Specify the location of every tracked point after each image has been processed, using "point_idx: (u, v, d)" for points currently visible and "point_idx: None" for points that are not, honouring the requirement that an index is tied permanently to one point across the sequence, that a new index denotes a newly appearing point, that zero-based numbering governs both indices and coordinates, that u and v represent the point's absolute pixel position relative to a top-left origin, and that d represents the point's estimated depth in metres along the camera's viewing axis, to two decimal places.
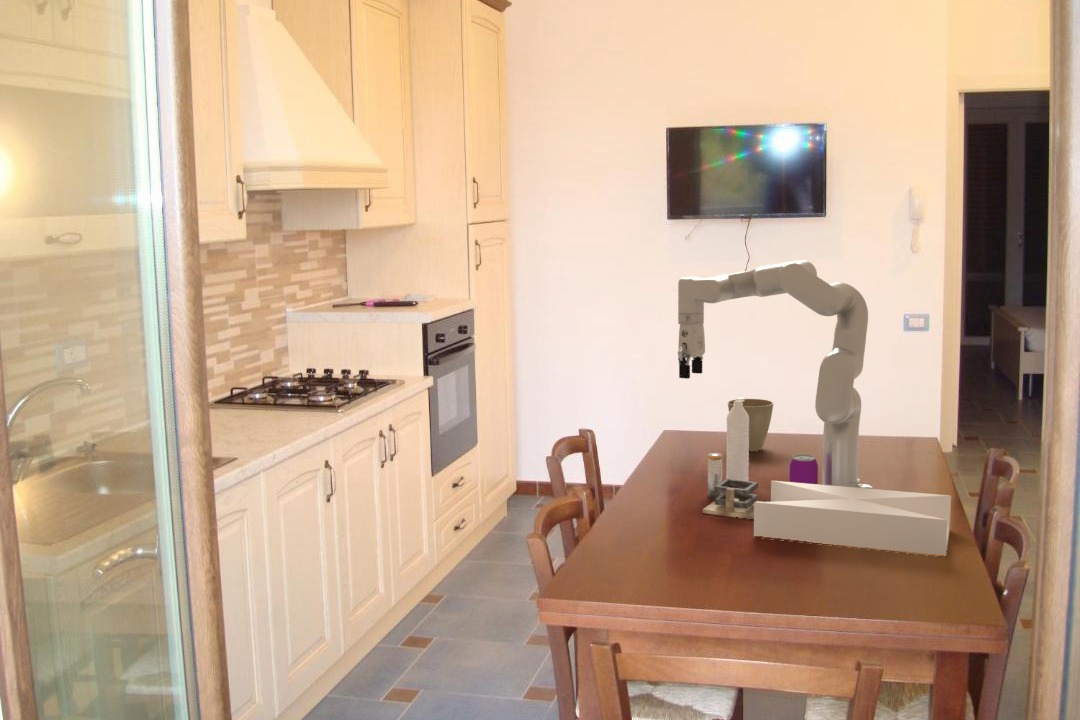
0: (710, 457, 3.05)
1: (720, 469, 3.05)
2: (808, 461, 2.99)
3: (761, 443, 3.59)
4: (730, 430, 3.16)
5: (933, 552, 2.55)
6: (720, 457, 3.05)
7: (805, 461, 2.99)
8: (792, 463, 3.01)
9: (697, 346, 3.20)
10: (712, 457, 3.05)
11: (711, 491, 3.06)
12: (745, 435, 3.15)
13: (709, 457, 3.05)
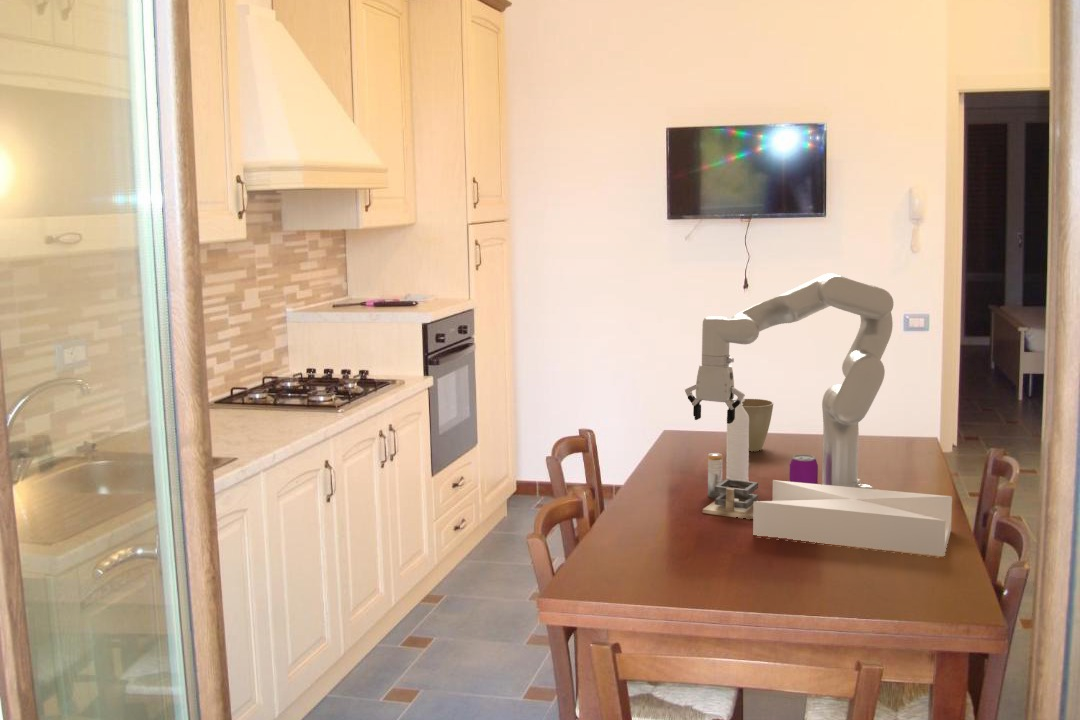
0: (710, 457, 3.05)
1: (720, 469, 3.05)
2: (808, 461, 2.99)
3: (761, 443, 3.59)
4: (730, 430, 3.16)
5: (931, 553, 2.54)
6: (720, 457, 3.05)
7: (805, 461, 2.99)
8: (792, 463, 3.01)
9: None
10: (712, 457, 3.05)
11: (711, 491, 3.06)
12: (745, 435, 3.15)
13: (709, 457, 3.05)
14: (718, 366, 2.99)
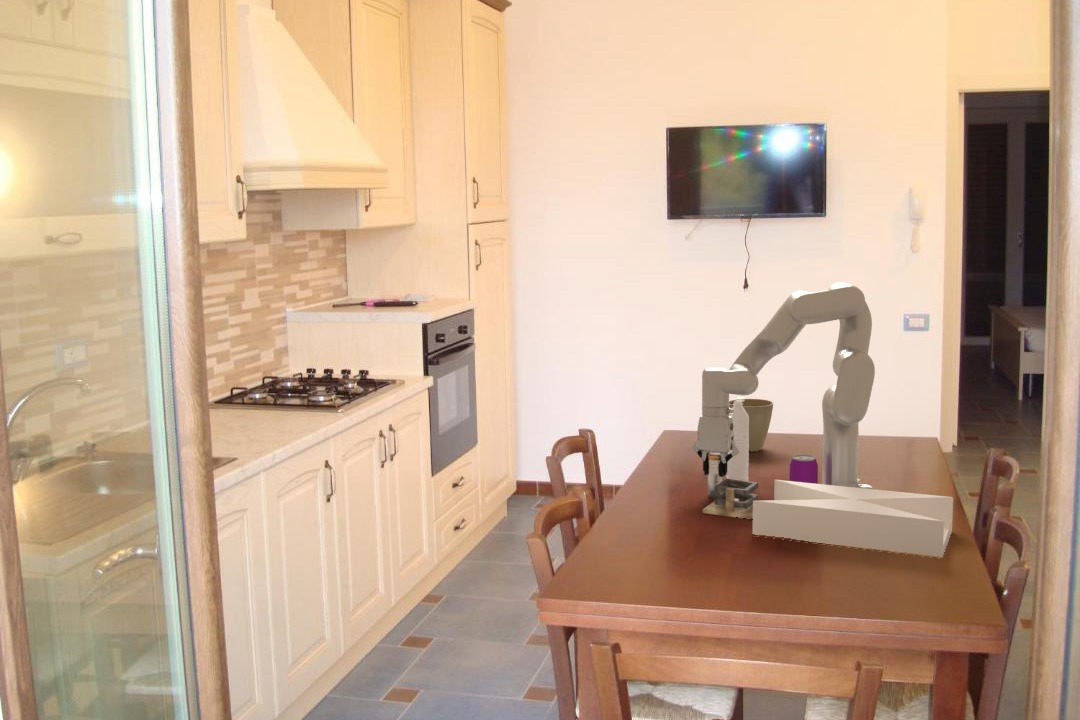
0: (710, 457, 3.05)
1: None
2: (808, 461, 2.99)
3: (761, 443, 3.59)
4: None
5: (930, 553, 2.54)
6: (720, 457, 3.05)
7: (805, 461, 2.99)
8: (792, 463, 3.01)
9: None
10: (712, 457, 3.05)
11: (711, 491, 3.06)
12: (745, 435, 3.15)
13: (709, 457, 3.05)
14: (718, 417, 3.01)
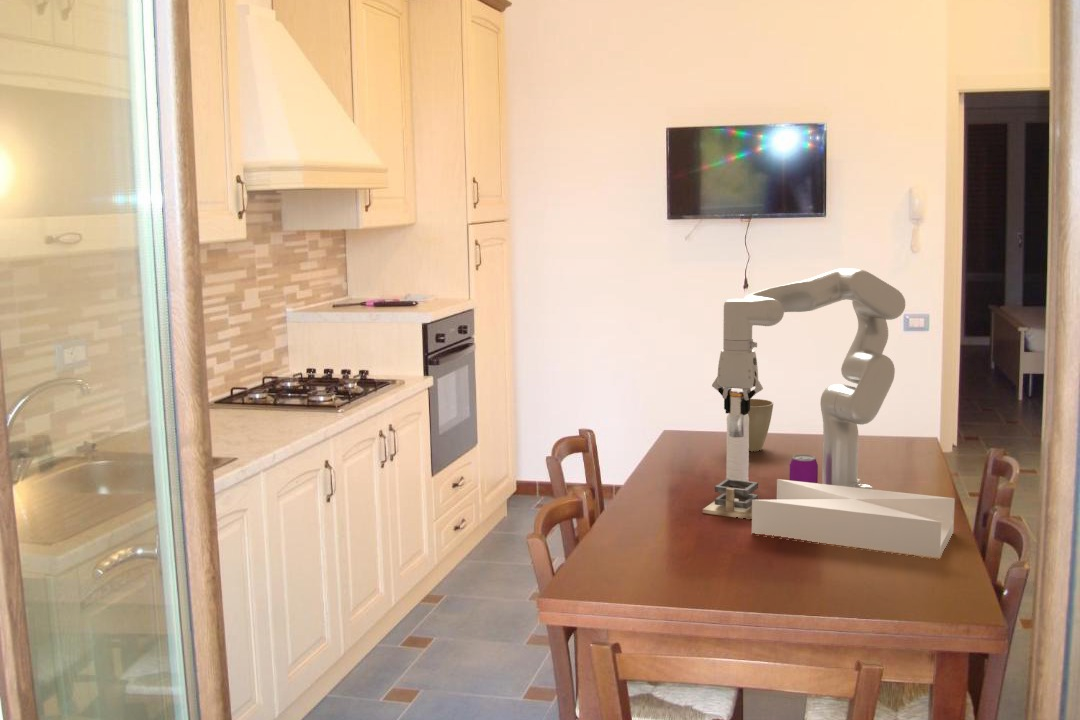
0: (732, 394, 2.88)
1: None
2: (808, 461, 2.99)
3: (761, 443, 3.59)
4: None
5: (927, 554, 2.53)
6: (742, 394, 2.88)
7: (805, 461, 2.99)
8: (792, 463, 3.01)
9: None
10: (734, 394, 2.88)
11: (733, 431, 2.90)
12: (745, 435, 3.15)
13: (731, 394, 2.89)
14: (741, 351, 2.84)
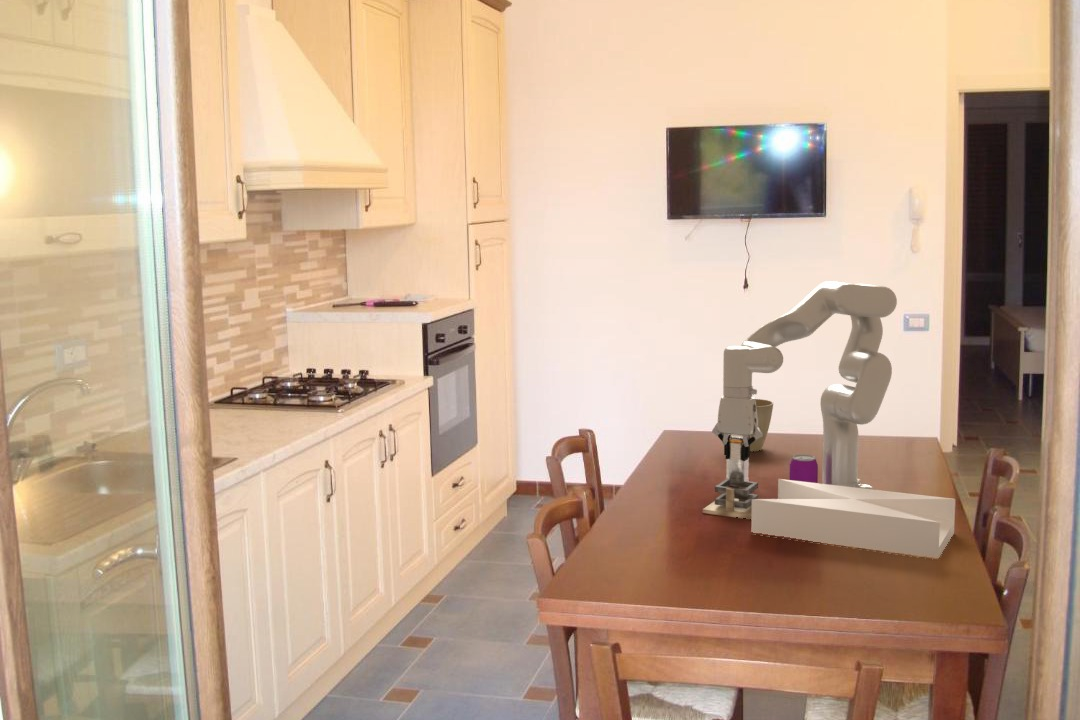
0: (732, 441, 2.90)
1: None
2: (808, 461, 2.99)
3: (761, 443, 3.59)
4: None
5: (926, 554, 2.53)
6: (742, 440, 2.90)
7: (805, 461, 2.99)
8: (792, 463, 3.01)
9: None
10: (734, 440, 2.90)
11: (733, 477, 2.92)
12: None
13: (731, 440, 2.91)
14: (741, 398, 2.86)
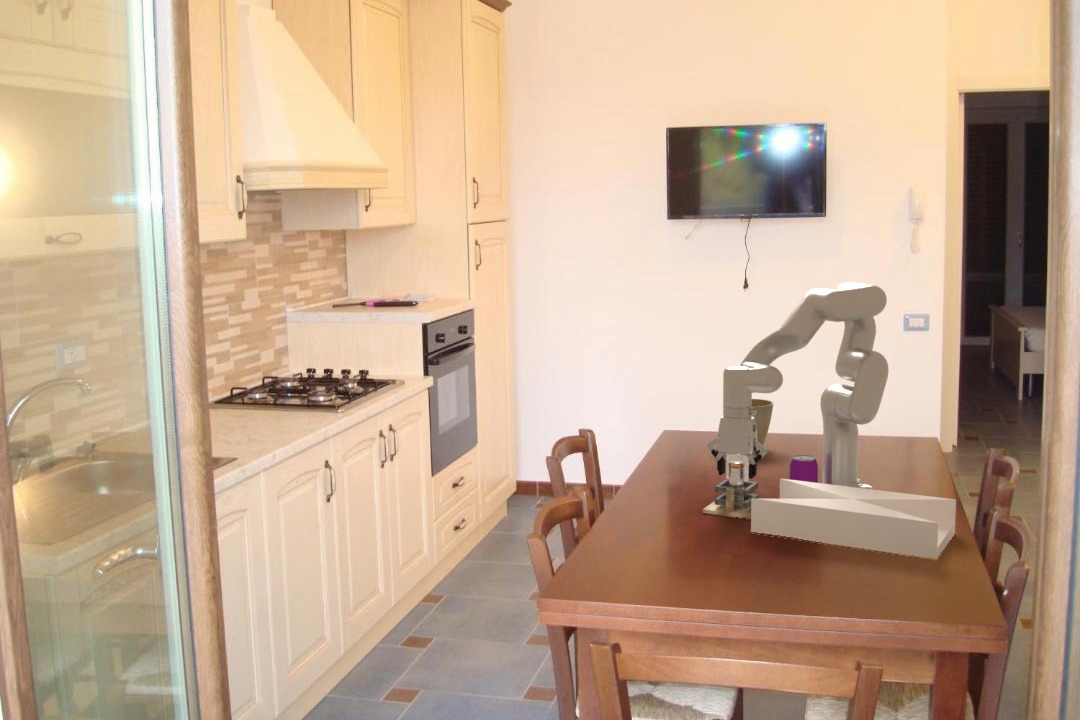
0: (731, 466, 2.92)
1: (742, 478, 2.92)
2: (808, 461, 2.99)
3: (761, 443, 3.59)
4: None
5: (924, 555, 2.53)
6: (742, 465, 2.91)
7: (805, 461, 2.99)
8: (792, 463, 3.01)
9: None
10: (733, 465, 2.91)
11: None
12: None
13: (730, 465, 2.92)
14: (740, 418, 2.87)
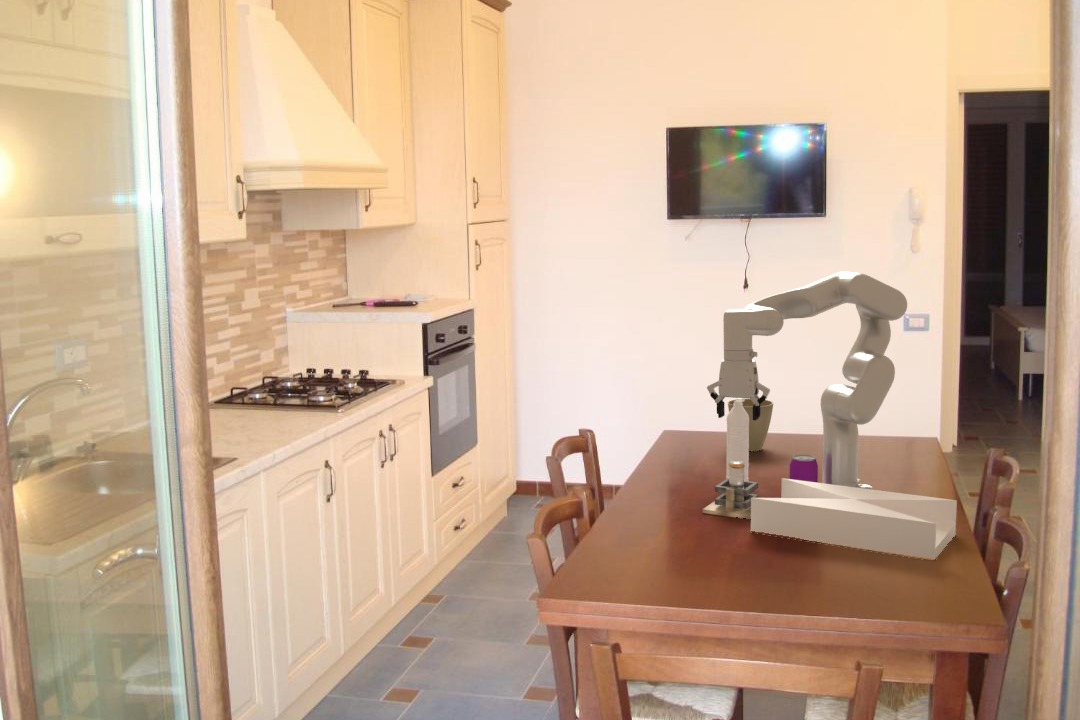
0: (732, 466, 2.91)
1: (742, 478, 2.92)
2: (808, 461, 2.99)
3: (761, 443, 3.59)
4: (730, 430, 3.16)
5: (922, 555, 2.52)
6: (742, 465, 2.91)
7: (805, 461, 2.99)
8: (792, 463, 3.01)
9: None
10: (734, 465, 2.91)
11: None
12: (745, 435, 3.15)
13: (730, 465, 2.92)
14: (742, 361, 2.86)
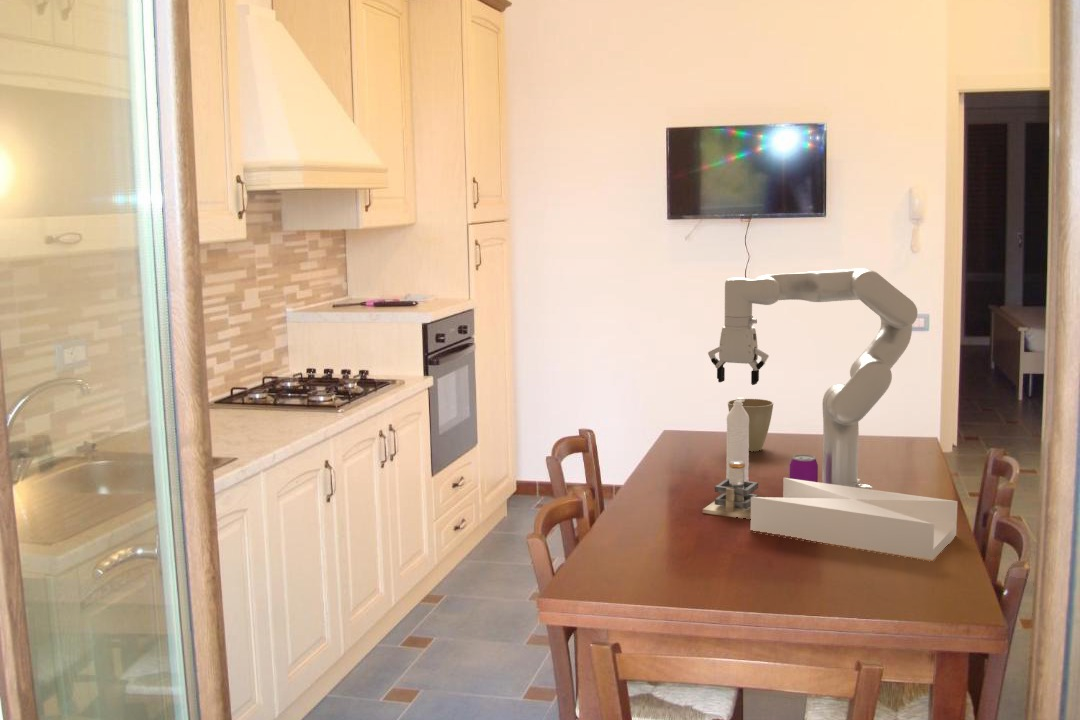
0: (732, 466, 2.91)
1: (742, 478, 2.92)
2: (808, 461, 2.99)
3: (761, 443, 3.59)
4: (730, 430, 3.16)
5: (920, 556, 2.52)
6: (742, 465, 2.91)
7: (805, 461, 2.99)
8: (792, 463, 3.01)
9: None
10: (734, 465, 2.91)
11: None
12: (745, 435, 3.15)
13: (731, 465, 2.92)
14: (741, 327, 2.98)
